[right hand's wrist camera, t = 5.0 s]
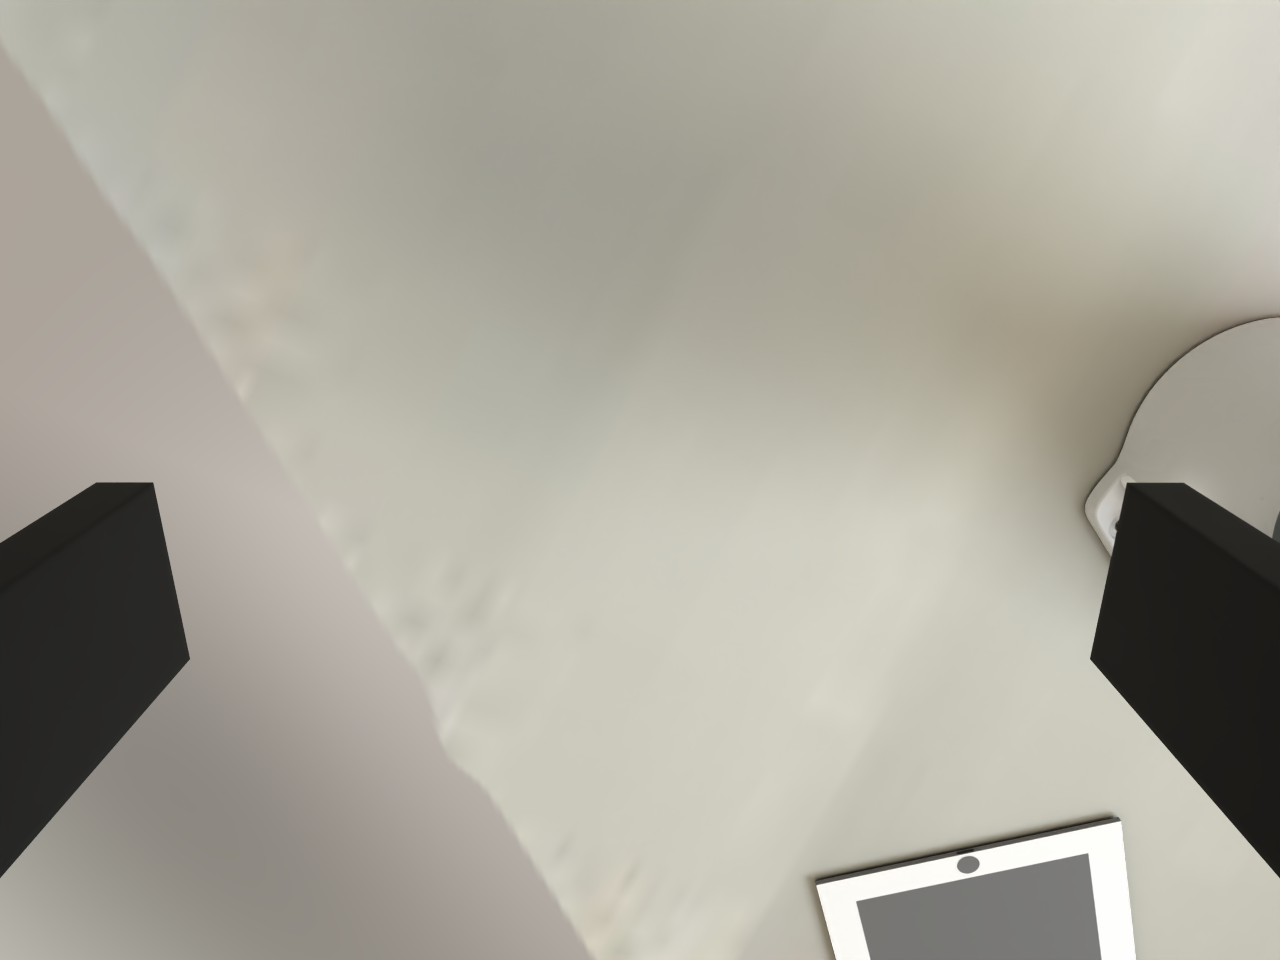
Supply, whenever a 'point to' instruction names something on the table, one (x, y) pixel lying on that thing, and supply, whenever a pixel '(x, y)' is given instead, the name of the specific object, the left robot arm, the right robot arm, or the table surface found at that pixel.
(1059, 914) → the tablet
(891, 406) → the table surface
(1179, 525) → the right robot arm
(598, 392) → the table surface
